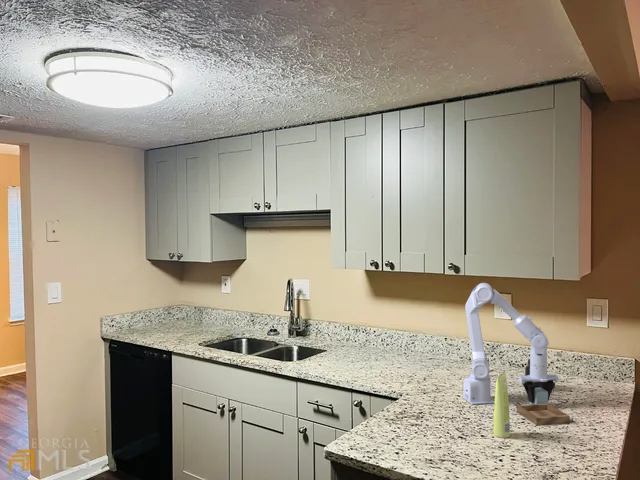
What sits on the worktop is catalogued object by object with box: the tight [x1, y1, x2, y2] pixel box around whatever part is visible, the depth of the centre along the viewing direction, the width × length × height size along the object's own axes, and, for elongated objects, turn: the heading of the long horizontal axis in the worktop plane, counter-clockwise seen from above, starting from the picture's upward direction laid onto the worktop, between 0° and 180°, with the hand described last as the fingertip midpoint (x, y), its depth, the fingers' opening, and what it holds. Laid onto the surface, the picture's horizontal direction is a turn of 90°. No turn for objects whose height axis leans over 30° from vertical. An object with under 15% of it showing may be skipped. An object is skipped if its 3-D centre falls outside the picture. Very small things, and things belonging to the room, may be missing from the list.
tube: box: [493, 370, 511, 439], centre depth 153 cm, size 6×5×20 cm
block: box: [528, 388, 549, 405], centre depth 178 cm, size 4×4×6 cm
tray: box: [516, 402, 571, 426], centre depth 167 cm, size 12×12×2 cm
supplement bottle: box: [524, 358, 543, 389], centre depth 196 cm, size 7×7×12 cm
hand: (538, 401), depth 178 cm, fingers open, 5 cm apart
